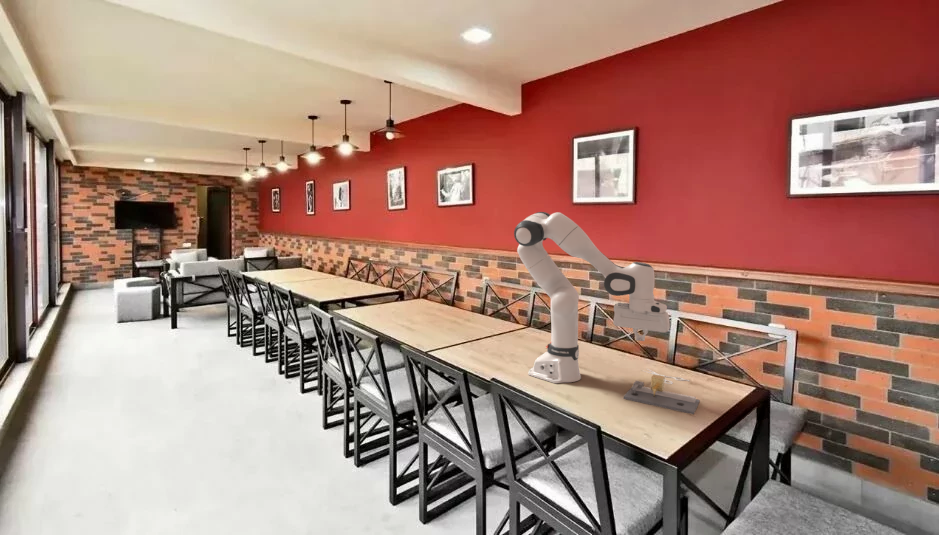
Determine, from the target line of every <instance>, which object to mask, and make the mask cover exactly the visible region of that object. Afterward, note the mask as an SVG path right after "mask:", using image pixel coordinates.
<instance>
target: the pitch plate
mask: <svg viewBox="0 0 939 535" xmlns="http://www.w3.org/2000/svg"><path fill="white" fill-rule="evenodd" d="M653 393H654V391H652V390H651V387H649V386H645V382H644V381H640V380H635V381H634V382H633V384H632V386H631V388H629V390H627V391H626V393H625V394H623V400H627V401H632V402H636V403H637V402H638V403H642V404H646V405H649V406H654V407H659V408H663V409H667V410H673V411H676V412H681V413H686V414H690V415H694V414H695V412H696V410H697V408H698V406H699V404H700V401H701V400H700V399H698V398H696V396H693V395H692V396H691V395H688V394H687V395H686V394H681V393H677V392H673V391H667V390H663V391H662V392H660V391H656V392H655V397H653Z"/></svg>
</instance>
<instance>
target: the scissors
mask: <svg viewBox="0 0 939 535" xmlns="http://www.w3.org/2000/svg"><path fill="white" fill-rule="evenodd" d="M647 370H648V371H646V370H641V371H642V372H645V373H648V374H651V375H660V376H665V382H664V384H667V385H673V383H674V382H673V381H671V380H667V379H666V378H669V379H674V380H675V381H680V382H684V381H685V382H690V381H691V380H690V379H685V378H682V377H678V376H677V377H674V376H667V375H664V374H660V373H657V372H655V371H653V370H651V369H649V368H647Z"/></svg>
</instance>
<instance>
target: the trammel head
mask: <svg viewBox="0 0 939 535" xmlns="http://www.w3.org/2000/svg"><path fill="white" fill-rule="evenodd" d="M660 375H661V374H660ZM660 375H654V374H652V375H651V380H650V381H651V382H650V384H651V385H650V388H651V390H652V391H654V393H653V397H655V392H656V391H660V392H662V391H665V379H666V377H665V376H666V375H664V376H660Z"/></svg>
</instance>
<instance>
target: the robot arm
mask: <svg viewBox="0 0 939 535" xmlns="http://www.w3.org/2000/svg"><path fill="white" fill-rule="evenodd" d="M513 235H514V236H513V237H514V239H515V241H516V243H517V244H518V246H517V250H516V252H517V254H518V256H519V259H520V260H521V262H522V264H523V265H524V267H525V269H526V270H527V271H528V273H529V275H530V276H531V277H532V278H533V280H534V281H535V283H536V284H537V285H538V286H539V287H540V288H541V289H542V290H543V291H544V293H545V294H546V295H547V296H548V297H549V298H550V322H551V328H550V330H551V332H550V333H551V334H550V335H551V336H550V337H551V338H550V339H551V340H550V343H548V344H547V345H545V349H547V350H546V351H545V352H544V353H542V354H540V355H539V356H538V357H537V358H536V359H535V360H534V364H533V367H531V368H530V369H529V370H528V372H527V375H529V376H530V377H531V376H532V377H534V378H537V379H541V380H543V381H546V382H550V383H551V384H552V383H553V384H561V383H572V382H573V383H574V382H577V381H580V380H581V379H582V375H581V373H580V371H581V370H580V366H579V357H580V348H579V344H578V342H579V339H578V338H579V337H578V336H579V300H580V298H579V297H580V295H579V292H578V290H577V289H576V288H575V287H574V285H573V284H572V283H571V281H570V280H569V279H568V277H566V275H565V274H564V273H563V272H562V271H561V270H560V268H559V267H558V265H557V264H556V263H555V261H554V260H553V259H552V257H551V256H550V255H549V254H550V253H548V252H547V250H546V249H545V247H544V246H543V241H546V240H547V239H550V240H552V242H554V243H555V244H556V245H557V246H558V247H559V248H560V249H561V250H562V251H564V252H565V253H566V254H568V255H569V256H571V257H572V258H578V259H582V260H584V261H586V262H588V263H589V264H590V265H591V266H592V267H594V268H595V270H596V271H598V272H599V273H601V275H602V276H603V277H604V281H603V285H604V289H605V291H606V292H607V293H608V294H609V295H611V296H617V297H620V296H627V295H629V296H628V298H629V299H628V300H629V301H628V302H627V303H625V302H624V303H623V302H617V303H615V304H614V306H613V312H614V313H613V314H614V316H613V322H612V323H613V325H614V326H615V327H619V328H626V329H627V328H628V329H632V332H633V333H634V336H635V341H640V342H645V341H646V340H645V339H646V335H647V334H648V333H649V331H650V332H658V333H664V334H665V333H666V334H667V332H669V330H670V327H671V326H670V325H671V324H670V322H671V321H670V316H669V315H670V314H669V313H668V312H667V310H668V306H667V305H666V303H662V302H659V301H657V300H655V294H654V289H655V285H656V284H655V282H656V281H655V270H654V267H652V265H651V264H649V263H645V262H641V261H639V262H638V261H633V262H632V263H631V264H628V265H626V266H625V267H623V266H620V265H617V264H615V263H614V262H613V261H612V260H611V259H609V258H608V257H607V256H606V255H605V254H604V253H603V252H602V251H601V250H600V249H599V248H598V247H597V246H596V245H595V244H594V242H593V241H592V239H591V238H590V237H589V235H588V234H587V233H586V232H585V231H584V230H583V228H581V226H579V224H577V223H576V222H575V221H574V220H573V219H571V218H570V217H568V216H566V215H565V214H563V213H562V212H560V211H559V212H558V211H557V212H553V213H551V214H550V213H549V212H545V211H537V212H535V213H533V214H531V215H529V216H528V215H527V217H526V218H525V219H523V220H521V221H520V222H519V223H518V224H517V225H516V226H515V228H514V231H513ZM639 330H642V333H643V334H641V335H640V334H639V333H638V331H639Z"/></svg>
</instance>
